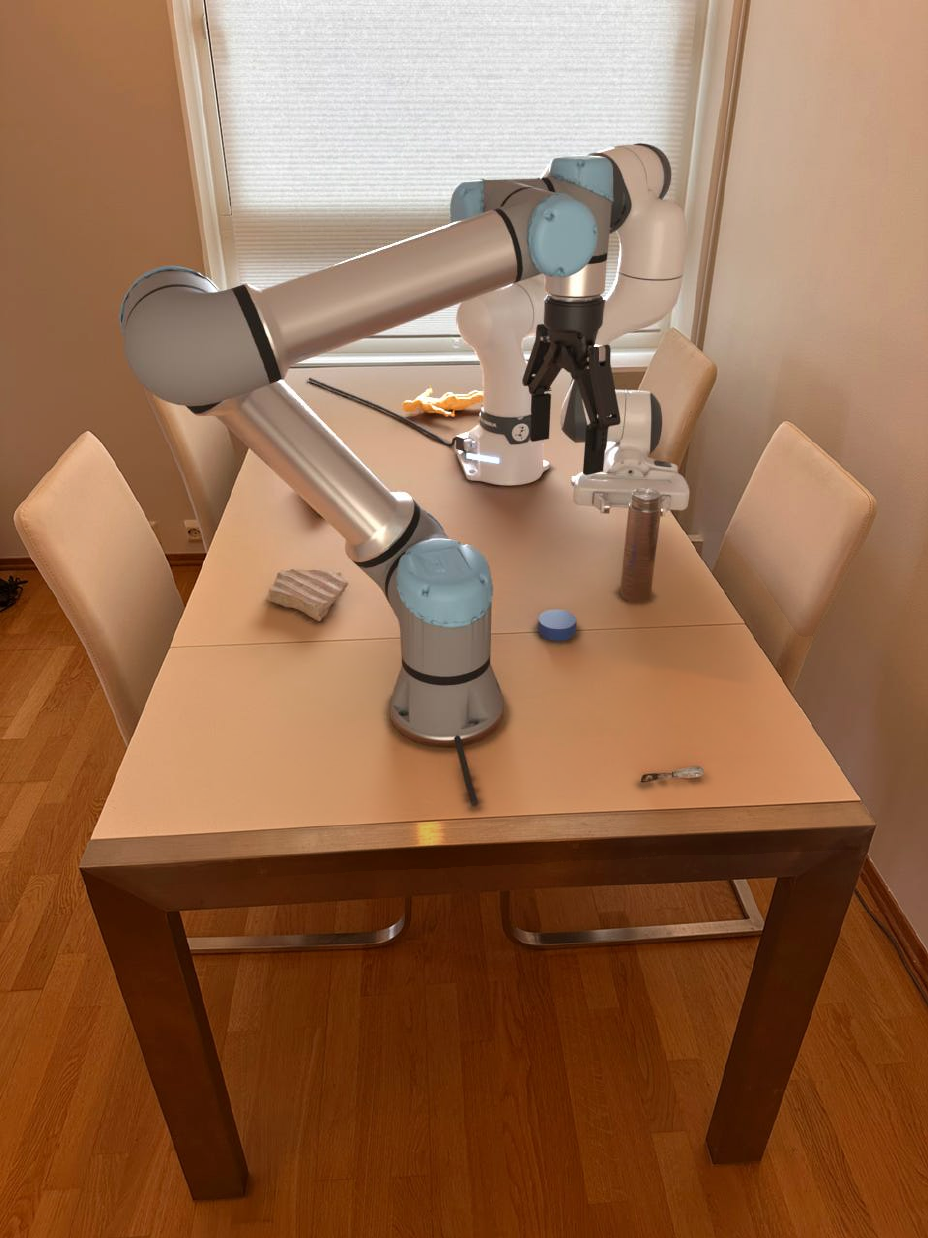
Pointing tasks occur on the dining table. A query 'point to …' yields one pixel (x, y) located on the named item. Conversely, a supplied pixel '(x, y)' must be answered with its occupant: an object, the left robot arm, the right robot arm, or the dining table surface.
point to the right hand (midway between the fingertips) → (633, 511)
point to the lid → (557, 625)
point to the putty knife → (674, 774)
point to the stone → (307, 590)
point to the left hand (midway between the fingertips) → (565, 455)
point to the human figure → (442, 402)
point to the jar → (640, 545)
